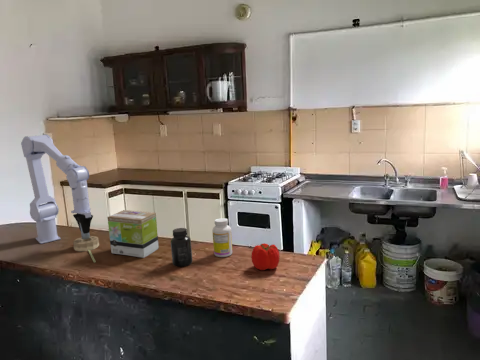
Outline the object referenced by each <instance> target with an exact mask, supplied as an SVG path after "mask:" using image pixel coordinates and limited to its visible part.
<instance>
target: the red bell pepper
mask: <svg viewBox="0 0 480 360" xmlns="http://www.w3.org/2000/svg"><path fill="white" fill-rule="evenodd" d="M280 257H281V255H280V251H279V249H278V247H277V246H276V245H275V244H268V243H260V244H258V245H257V244H256V245H255V246H254V247H253V249H252V252H251V262H252V265H253V267H254V268H256V269H257V270H260V271H265V270H274V269H276V268H277V267H278V266H279V263H280V260H281V259H280Z"/></svg>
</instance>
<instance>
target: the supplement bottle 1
mask: <svg viewBox="0 0 480 360" xmlns="http://www.w3.org/2000/svg"><path fill="white" fill-rule="evenodd" d="M170 249H171V260H172V265H173V266H174V267H176V268H177V267H178V268H182V267H188V266H190V265H192V263H193V250H192V241H191V237H190V236H188V229H187V228H186V227H179V228H174V229H173V230H172V238H171V239H170Z"/></svg>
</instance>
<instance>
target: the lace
mask: <svg viewBox="0 0 480 360" xmlns="http://www.w3.org/2000/svg"><path fill="white" fill-rule="evenodd" d="M87 252H88V253H89V256H90V258H91V260H92V262H93V263H96V262H97V261H96V259H95V257H94V254H92V250H88V251H87Z"/></svg>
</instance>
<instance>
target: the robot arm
mask: <svg viewBox="0 0 480 360" xmlns="http://www.w3.org/2000/svg"><path fill="white" fill-rule="evenodd" d="M20 142H21V143H20V145H21V149H22V153H23V157H24V158H25V160H26V164H27V169H28V173H29V177H30V181H31V182H30V183H31V186H32V190H33V194H34V198H33V199H32V201H31V202H30V203H29V215H30V217H31V219H32V220H33V221H34V222H35V226H36V234H37V237H35V240H36V241H37V242H38V244H42V245H43V244H47V243H49V242H50V243H51V242H54V241H59V240H62V239H61V237H60V236H59V235H58V229H57V222H56V218H57V216H58V214H59V211H60V210H59V209H60V208H59V206H58V204H57V202H56V199H55V198H54V197H52V196H51V195H49V191H48V187H47V182H46V177H45V172H44V168H43V164H42V163H43V162H42V157H43V156H44V155H45V154H46V155H48V156H49V157H50V158H51V159H53V160H54V161H55V162H56V163H55V164H56V167H58V169H59V170H61V171H62V173H64V175H66V176H65V177H66V180H67V183H68V184H69V187H70V188H71V196H72V203H73V209H72V210H70V212H71V214H73V215H72V216H73V218H74V219H75V221H76V224H77V225H78V228H79V231H80V232H81V228H80V224H81V227H82V231H83V233H84V234H86V233H89V234H90V232H91V231H90V229H91V223H92V219H93V218H94V215H93V214H92V212H91V209H92V208H91V206H90V199H89V190H88V182H87V181H88V180H89V179H90V171H89V170H88V168H87V167H86V166H84V165H81V164H80V165H79V164H78V163H77V162H76V161H75V160H73V159H72V158H71V156H70V155H67V154H65V155H64V154H62V152H61V151H60V150H59V149H58V147H56V145H55V144H54V140H53V138H51V136H50V135H48V134H40V135H30V136H29V135H27V136H24V137H22V140H21V141H20Z"/></svg>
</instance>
